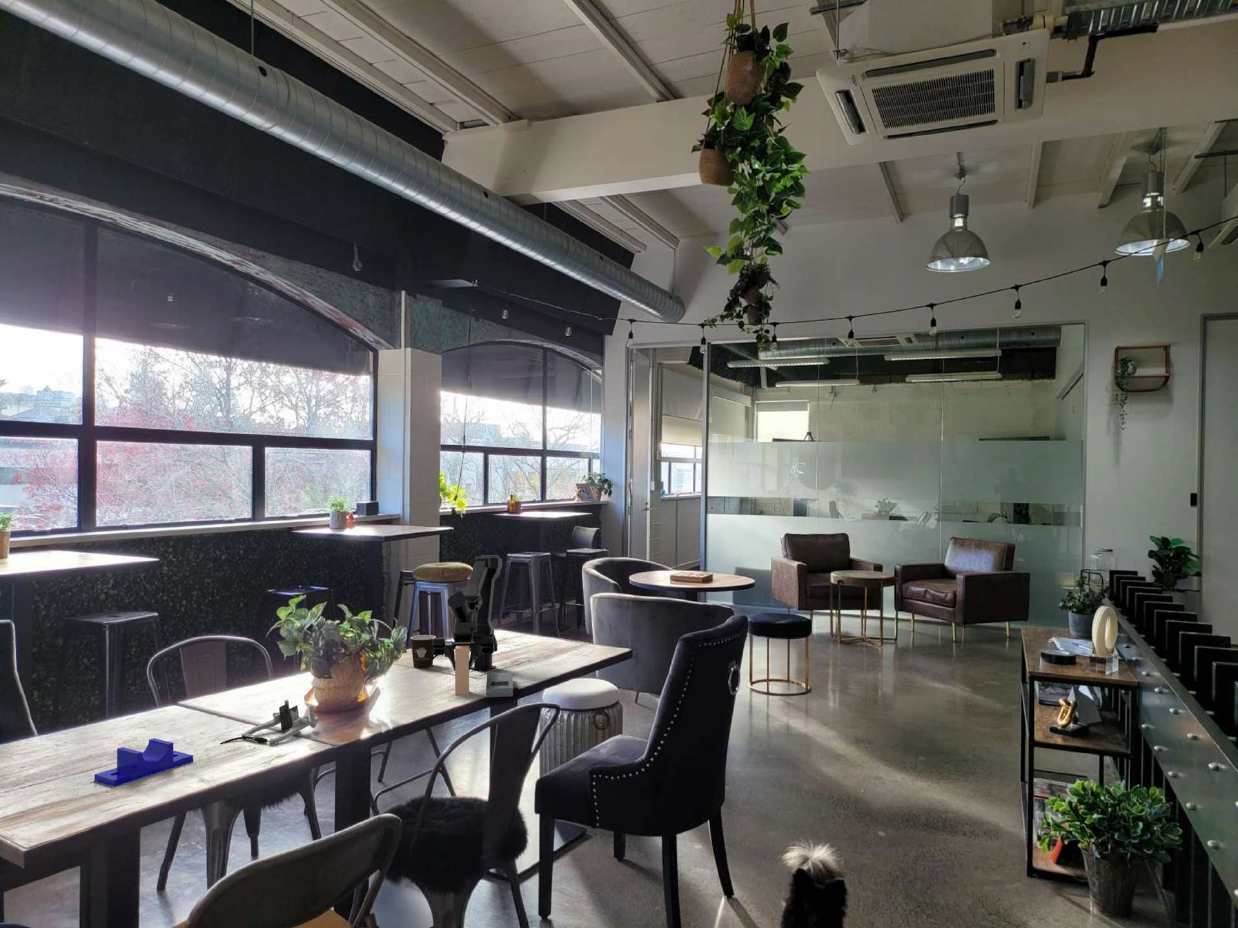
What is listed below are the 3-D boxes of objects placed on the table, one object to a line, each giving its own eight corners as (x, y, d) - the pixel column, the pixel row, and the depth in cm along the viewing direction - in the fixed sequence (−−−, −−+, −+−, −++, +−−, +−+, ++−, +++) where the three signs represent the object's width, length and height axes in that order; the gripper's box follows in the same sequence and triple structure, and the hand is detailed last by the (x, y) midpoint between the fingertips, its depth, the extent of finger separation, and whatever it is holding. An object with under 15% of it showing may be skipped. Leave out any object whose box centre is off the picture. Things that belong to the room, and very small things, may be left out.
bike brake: (287, 720, 222) (221, 752, 204) (284, 695, 221) (217, 726, 203) (323, 728, 215) (258, 762, 198) (321, 703, 214) (254, 735, 197)
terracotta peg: (455, 691, 254) (456, 645, 254) (469, 691, 255) (469, 645, 255) (455, 694, 250) (455, 648, 250) (468, 694, 251) (468, 648, 251)
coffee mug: (405, 667, 286) (405, 638, 287) (420, 662, 294) (420, 634, 295) (433, 670, 282) (433, 641, 282) (447, 665, 290) (448, 636, 290)
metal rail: (487, 681, 267) (487, 673, 267) (512, 680, 268) (512, 672, 269) (486, 697, 248) (486, 688, 248) (513, 696, 249) (513, 687, 249)
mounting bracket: (113, 788, 176) (114, 760, 176) (94, 782, 179) (94, 754, 179) (193, 763, 191) (193, 736, 191) (173, 758, 195) (173, 732, 195)
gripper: (432, 612, 255) (429, 655, 244) (493, 610, 258) (493, 653, 247) (434, 633, 263) (431, 676, 252) (493, 631, 266) (493, 674, 255)
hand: (462, 669), depth 251 cm, fingers closed on terracotta peg, 4 cm apart
